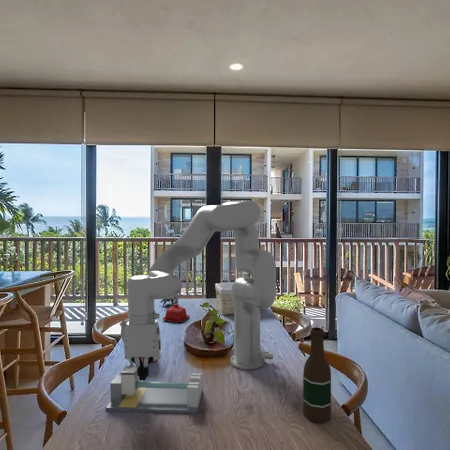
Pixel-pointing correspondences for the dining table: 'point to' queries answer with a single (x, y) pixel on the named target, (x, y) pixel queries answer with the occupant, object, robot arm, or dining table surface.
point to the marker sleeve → (129, 380)
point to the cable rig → (158, 396)
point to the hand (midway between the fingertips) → (143, 378)
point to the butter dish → (176, 314)
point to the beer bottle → (317, 381)
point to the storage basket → (224, 298)
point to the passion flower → (173, 300)
